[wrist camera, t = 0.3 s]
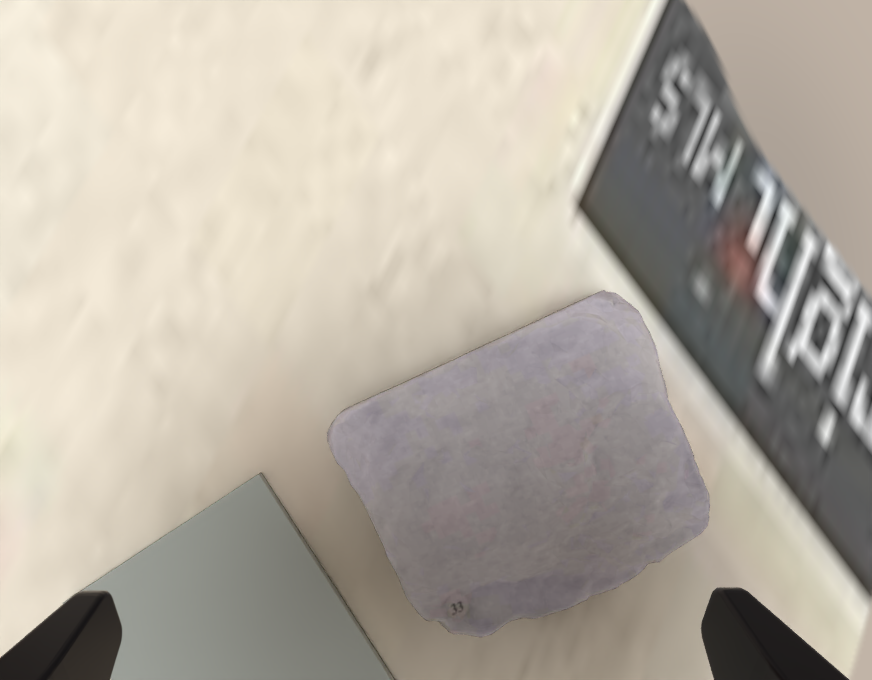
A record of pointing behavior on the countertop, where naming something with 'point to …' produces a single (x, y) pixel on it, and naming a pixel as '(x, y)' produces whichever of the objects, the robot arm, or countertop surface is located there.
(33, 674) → the robot arm
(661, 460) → the stone block
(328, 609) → the rubber mat
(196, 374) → the countertop surface
